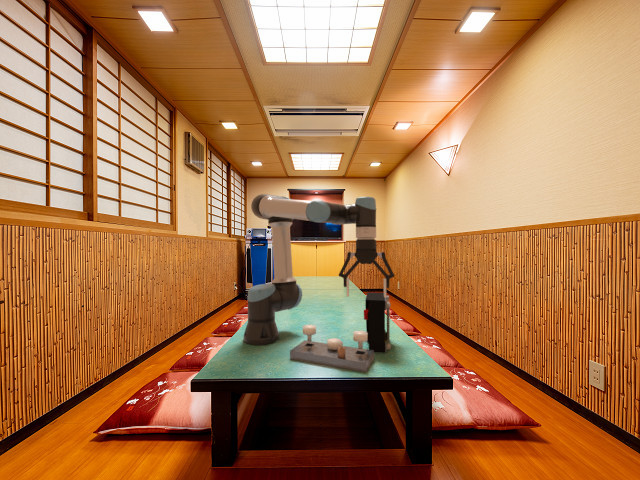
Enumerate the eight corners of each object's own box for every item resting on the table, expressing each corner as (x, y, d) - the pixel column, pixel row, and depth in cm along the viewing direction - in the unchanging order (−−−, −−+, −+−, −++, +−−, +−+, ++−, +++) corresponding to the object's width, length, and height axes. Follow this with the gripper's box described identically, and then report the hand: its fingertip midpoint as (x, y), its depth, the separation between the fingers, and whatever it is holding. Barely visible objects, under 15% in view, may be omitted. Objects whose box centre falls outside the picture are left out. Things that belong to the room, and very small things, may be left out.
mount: (290, 358, 105) (290, 350, 105) (304, 347, 116) (304, 340, 116) (365, 372, 94) (365, 363, 94) (374, 358, 105) (374, 350, 105)
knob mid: (325, 356, 105) (325, 341, 105) (330, 352, 110) (330, 337, 110) (338, 358, 103) (338, 343, 103) (342, 354, 108) (342, 339, 108)
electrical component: (390, 353, 110) (390, 300, 110) (363, 351, 112) (363, 299, 112) (389, 338, 127) (389, 293, 127) (365, 337, 129) (365, 292, 129)
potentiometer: (336, 357, 98) (336, 342, 98) (339, 354, 101) (339, 340, 101) (343, 358, 97) (343, 343, 97) (346, 355, 100) (346, 341, 100)
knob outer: (351, 349, 101) (351, 334, 101) (355, 345, 106) (355, 330, 106) (365, 351, 99) (365, 335, 99) (369, 347, 104) (368, 331, 104)
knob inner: (300, 342, 109) (300, 327, 109) (306, 338, 114) (306, 324, 114) (312, 343, 107) (312, 329, 107) (318, 339, 112) (318, 325, 112)
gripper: (331, 239, 106) (331, 297, 105) (401, 238, 102) (402, 299, 101) (333, 239, 113) (333, 293, 113) (399, 238, 109) (399, 295, 109)
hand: (366, 296), depth 107 cm, fingers open, 13 cm apart
